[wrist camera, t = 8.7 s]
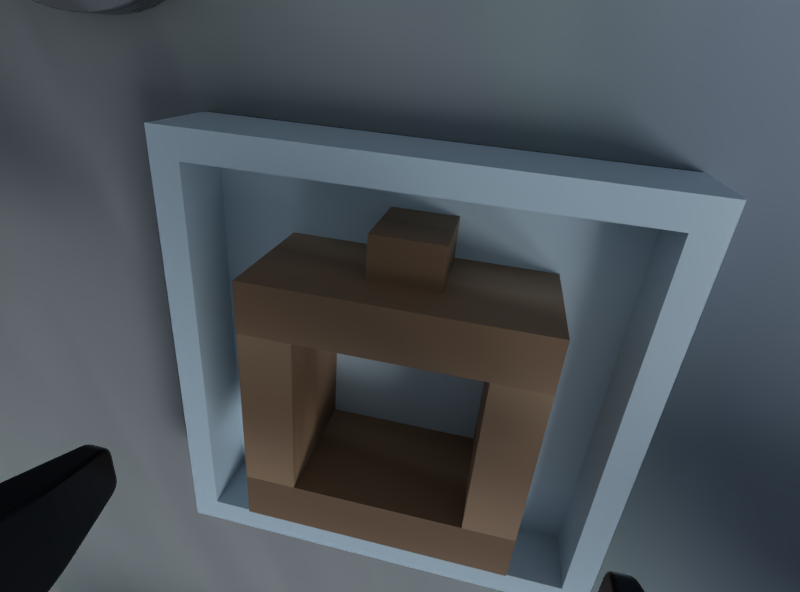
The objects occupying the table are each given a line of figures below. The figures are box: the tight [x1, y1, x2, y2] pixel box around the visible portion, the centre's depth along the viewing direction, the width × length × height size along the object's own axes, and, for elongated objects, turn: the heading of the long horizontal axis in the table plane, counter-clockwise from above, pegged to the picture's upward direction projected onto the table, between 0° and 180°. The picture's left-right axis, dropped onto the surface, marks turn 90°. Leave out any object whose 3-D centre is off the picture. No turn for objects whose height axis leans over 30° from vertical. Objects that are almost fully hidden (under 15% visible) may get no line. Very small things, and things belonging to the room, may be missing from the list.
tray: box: [144, 111, 747, 592], centre depth 13 cm, size 11×11×2 cm
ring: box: [232, 207, 570, 576], centre depth 12 cm, size 7×6×3 cm
